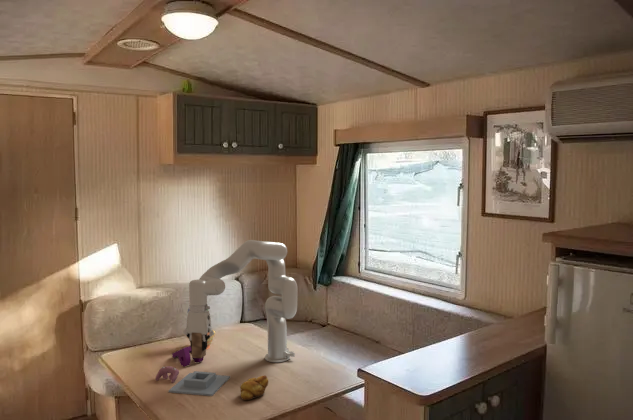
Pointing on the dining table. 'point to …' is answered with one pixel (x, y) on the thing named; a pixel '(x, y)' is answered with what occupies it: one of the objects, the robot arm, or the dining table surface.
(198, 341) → the walnut block
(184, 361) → the mounting bracket
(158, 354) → the dining table surface
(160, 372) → the video game controller
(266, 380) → the bread roll
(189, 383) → the grey square socket base
